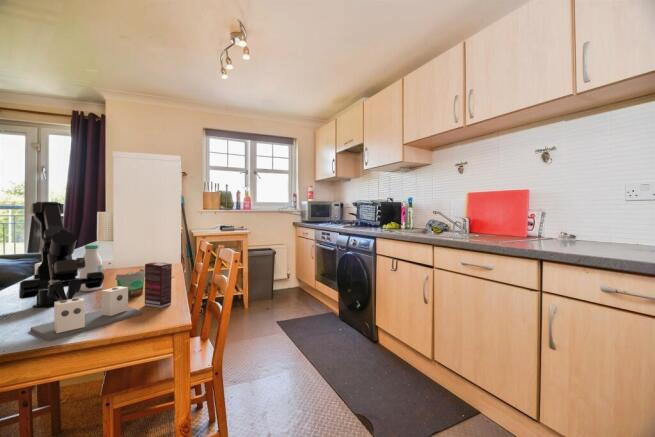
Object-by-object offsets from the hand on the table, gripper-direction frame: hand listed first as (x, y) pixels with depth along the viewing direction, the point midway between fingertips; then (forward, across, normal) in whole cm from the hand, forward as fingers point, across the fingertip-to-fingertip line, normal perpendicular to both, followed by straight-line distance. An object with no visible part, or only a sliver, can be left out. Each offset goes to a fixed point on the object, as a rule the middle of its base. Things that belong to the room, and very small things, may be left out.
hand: (68, 307), depth 83 cm
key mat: (+2, +6, +7) cm, 10 cm away
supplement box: (+1, +26, +9) cm, 28 cm away
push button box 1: (+1, +12, +6) cm, 14 cm away
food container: (-12, +25, +22) cm, 35 cm away
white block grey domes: (+6, 0, +2) cm, 6 cm away
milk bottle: (-30, +15, +39) cm, 51 cm away
